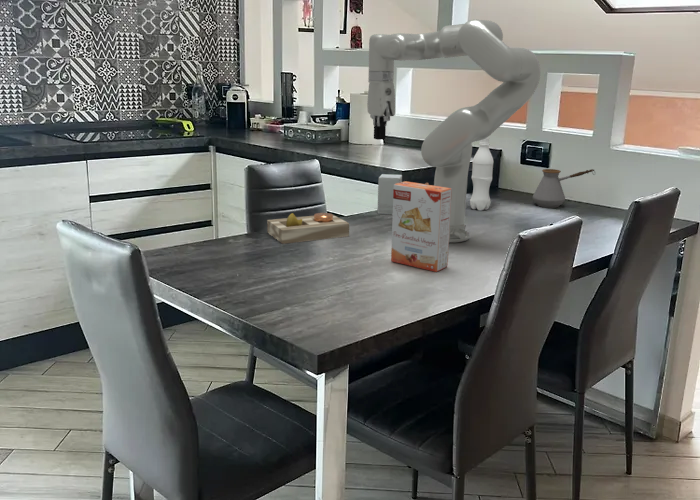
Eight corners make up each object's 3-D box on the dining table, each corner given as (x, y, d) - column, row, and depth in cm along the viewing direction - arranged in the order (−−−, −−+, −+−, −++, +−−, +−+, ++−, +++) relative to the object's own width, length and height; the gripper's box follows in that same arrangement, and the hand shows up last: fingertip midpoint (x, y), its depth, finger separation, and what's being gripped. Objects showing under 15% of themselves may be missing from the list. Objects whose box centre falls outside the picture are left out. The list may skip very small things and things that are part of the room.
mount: (349, 236, 202) (349, 223, 201) (282, 243, 193) (282, 230, 192) (331, 226, 213) (331, 213, 212) (267, 233, 205) (267, 220, 204)
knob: (287, 232, 198) (286, 215, 197) (285, 227, 203) (285, 211, 202) (303, 231, 199) (303, 215, 198) (301, 227, 204) (301, 211, 202)
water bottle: (489, 207, 243) (494, 136, 236) (491, 211, 236) (496, 139, 229) (468, 206, 244) (473, 136, 237) (470, 210, 237) (474, 138, 230)
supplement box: (398, 215, 229) (399, 178, 226) (376, 213, 231) (377, 177, 227) (401, 210, 236) (402, 174, 233) (380, 209, 238) (381, 173, 234)
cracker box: (389, 262, 178) (392, 183, 172) (402, 257, 182) (405, 180, 177) (436, 273, 170) (440, 190, 164) (448, 267, 174) (452, 187, 168)
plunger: (335, 230, 204) (335, 216, 203) (318, 232, 202) (318, 217, 200) (328, 226, 209) (328, 212, 208) (311, 228, 206) (311, 213, 205)
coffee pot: (526, 205, 247) (530, 164, 242) (539, 200, 255) (543, 160, 251) (584, 214, 234) (589, 171, 229) (596, 209, 242) (601, 167, 238)
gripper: (404, 78, 199) (402, 141, 204) (380, 76, 212) (378, 135, 217) (381, 78, 196) (380, 142, 201) (358, 76, 209) (357, 136, 214)
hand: (379, 138), depth 209 cm, fingers closed
